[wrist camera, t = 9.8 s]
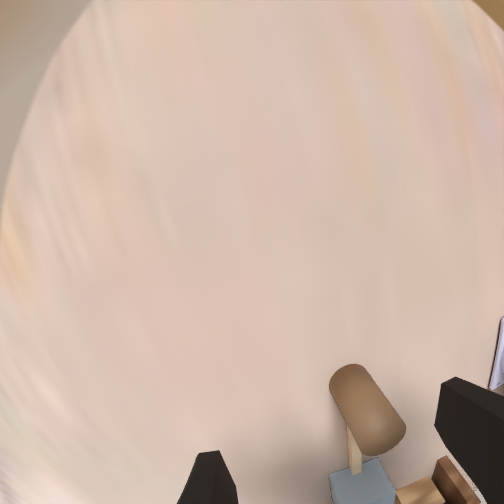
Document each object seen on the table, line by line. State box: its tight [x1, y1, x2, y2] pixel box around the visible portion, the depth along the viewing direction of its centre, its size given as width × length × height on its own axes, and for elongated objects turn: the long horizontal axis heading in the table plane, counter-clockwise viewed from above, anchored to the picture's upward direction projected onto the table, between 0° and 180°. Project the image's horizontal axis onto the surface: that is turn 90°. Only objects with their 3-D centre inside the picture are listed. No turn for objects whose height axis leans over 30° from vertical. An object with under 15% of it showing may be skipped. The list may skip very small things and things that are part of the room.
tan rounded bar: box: [329, 364, 406, 504], centre depth 19 cm, size 4×16×6 cm, turn 13°
